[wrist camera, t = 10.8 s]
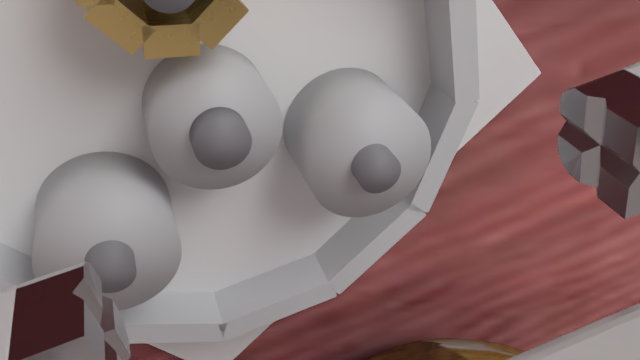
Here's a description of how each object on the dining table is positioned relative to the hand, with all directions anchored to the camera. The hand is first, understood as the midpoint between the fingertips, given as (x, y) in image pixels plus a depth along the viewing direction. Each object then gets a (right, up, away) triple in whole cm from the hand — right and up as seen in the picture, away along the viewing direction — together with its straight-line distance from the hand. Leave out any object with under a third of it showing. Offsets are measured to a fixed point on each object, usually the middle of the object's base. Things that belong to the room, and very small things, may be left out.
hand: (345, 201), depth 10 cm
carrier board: (-6, +4, +19) cm, 20 cm away
